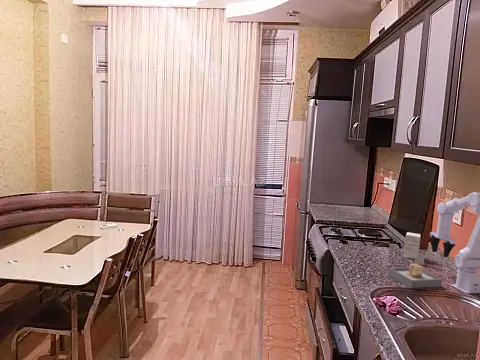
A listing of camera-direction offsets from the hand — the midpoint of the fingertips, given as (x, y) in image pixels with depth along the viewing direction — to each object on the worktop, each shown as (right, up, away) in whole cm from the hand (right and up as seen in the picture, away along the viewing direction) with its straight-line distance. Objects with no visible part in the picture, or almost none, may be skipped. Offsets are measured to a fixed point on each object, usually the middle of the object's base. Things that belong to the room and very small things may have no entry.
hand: (440, 254), depth 206 cm
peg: (-18, -9, -13) cm, 24 cm away
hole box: (-18, -10, -13) cm, 25 cm away
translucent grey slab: (-3, -8, +13) cm, 15 cm away
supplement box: (-4, -6, +26) cm, 27 cm away
